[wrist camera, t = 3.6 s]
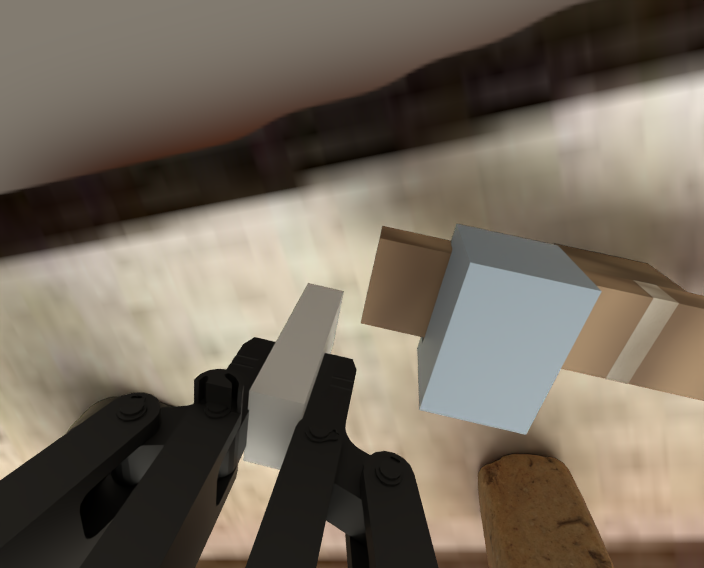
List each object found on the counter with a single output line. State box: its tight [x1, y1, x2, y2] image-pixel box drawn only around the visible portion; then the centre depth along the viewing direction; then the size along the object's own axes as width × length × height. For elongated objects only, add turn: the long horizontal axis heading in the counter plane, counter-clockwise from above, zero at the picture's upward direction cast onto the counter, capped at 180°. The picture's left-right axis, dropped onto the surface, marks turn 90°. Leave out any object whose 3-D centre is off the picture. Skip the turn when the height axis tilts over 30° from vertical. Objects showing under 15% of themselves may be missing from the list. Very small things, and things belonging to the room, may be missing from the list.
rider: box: [417, 224, 602, 435], centre depth 19 cm, size 5×8×5 cm, turn 170°
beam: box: [361, 226, 704, 401], centre depth 22 cm, size 28×5×10 cm, turn 80°
